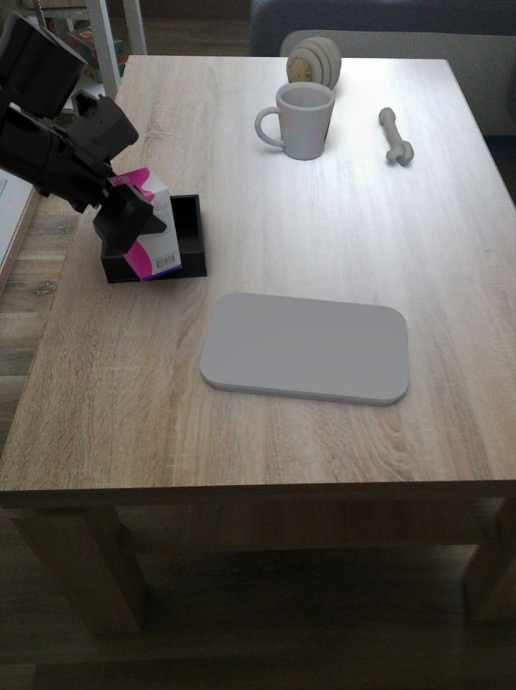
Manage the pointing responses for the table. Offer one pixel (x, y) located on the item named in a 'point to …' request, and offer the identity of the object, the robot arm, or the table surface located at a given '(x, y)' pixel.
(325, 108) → the mug
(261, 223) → the table surface
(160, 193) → the supplement box
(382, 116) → the bone
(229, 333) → the tablet
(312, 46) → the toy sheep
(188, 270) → the black open box
